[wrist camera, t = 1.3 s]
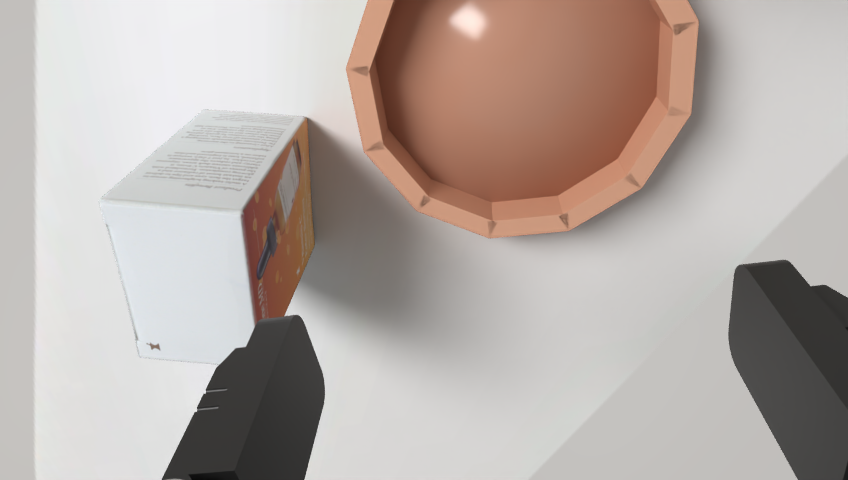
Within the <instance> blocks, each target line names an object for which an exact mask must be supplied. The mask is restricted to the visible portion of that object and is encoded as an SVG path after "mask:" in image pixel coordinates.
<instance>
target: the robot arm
mask: <svg viewBox="0 0 848 480" xmlns="http://www.w3.org/2000/svg"><path fill="white" fill-rule="evenodd" d="M729 345H730V350H731V355H732V358H733V361H734V364H735V366H736V368H737V370H738V372H739V373H740V375H741V377H742V379H743V381H744V383H745V384H746V386H747V388H748V390H749V392H750V393H751V395H752V397H753V399H754V401H755V403H756V404H757V406H758V408H759V410H760V411H761V413H762V415H763V417H764V419H765V421H766V423H767V424H768V426H769V428H770V430H771V432H772V433H773V435H774V437H775V439H776V441H777V442H778V444H779V446H780V448H781V450H782V452H783V453H784V455H785V457H786V459H787V461H788V462H789V464H790V466H791V468H792V470H793V471H794V473H795V475H796V477H797V479H798V480H848V298H847V297H846V296H843V295H842V294H840V293H838V292H837V291H835V290H833V289H831V288H830V287H828V286H826V285H820V286H810V285H809V284H808V283H807V282H806V280H805V279H804V278H803V277H802V276H801V274H800V273H799V272H798V271H797V270H796V269H795V267H794V266H793V265H792V264H791V263H790V262H789V261H787V260H778V261H769V262H760V263H752V264H743V265H739V266H737V268H736V270H735V273H734V281H733V291H732V301H731V312H730V322H729ZM324 398H325V385H324V378H323V373H322V370H321V368H320V365H319V362H318V359H317V357H316V354H315V351H314V348H313V346H312V343H311V340H310V338H309V335H308V332H307V329H306V327H305V324H304V322H303V320H302V318H301V317H300V316H299V315H292V316H284V317H275V318H266V319H260V320H259V321H258V322H257V324H256V325H255V328H254V330H253V332H252V334H251V337H250V339H249V341H248V343H247V345H246V347H240V348H235V349H234V350H233V351H232V352H231V353H230V354H229V356H228V357H227V358H226V359H225V360H224V361H223V362H222V363H221V364H220V365H219V366H218V367H217V368H216V370H215V372H214V374H213V376H212V378H211V380H210V382H209V384H208V386H207V388H206V394H203V396H202V398H201V400H200V403H199V405H198V407H197V412H195V413H194V415H193V417H192V419H191V421H190V423H189V425H188V427H187V429H186V431H185V433H184V435H183V437H182V439H181V441H180V443H179V445H178V447H177V449H176V451H175V453H174V455H173V457H172V460H171V462H170V464H169V466H168V468H167V470H166V472H165V474H164V476H163V478H162V480H304V479H305V475H306V471H307V467H308V463H309V459H310V455H311V451H312V448H313V444H314V440H315V436H316V432H317V428H318V424H319V420H320V417H321V413H322V409H323V405H324Z"/></svg>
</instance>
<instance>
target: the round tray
mask: <svg viewBox="0 0 848 480" xmlns="http://www.w3.org/2000/svg"><path fill="white" fill-rule="evenodd" d="M698 25H699V20H698V18H697V17H696V15H695V13H694V11H693V9H692V7H691V6H690V4H689V2H688V0H368V2H367V5H366V8H365V11H364V14H363V17H362V20H361V23H360V26H359V30H358V33H357V36H356V39H355V42H354V45H353V48H352V51H351V54H350V57H349V60H348V63H347V67H346V71H347V76H348V81H349V85H350V90H351V95H352V99H353V104H354V109H355V113H356V118H357V122H358V127H359V132H360V136H361V141H362V146H363V150H364V153H365V154H366V155H367V156H368V157H369V158H370V159H371V160H372V162H373V163H374V164H375V165H376V166H377V167H378V168H379V169H380V171H381V172H382V173H383V174H384V175H385V176H386V177H387V178H388V180H389V181H390V182H391V183H392V184H393V185H394V186H395V187H396V189H397V190H398V191H399V192H400V193H401V194H402V195H403V196H404V198H405V199H406V200H407V201H408V202H409V203H410V204H411V205H412V207H413V208H414V209H415V210H416V211H418V212H420V213H423V214H426V215H428V216H431V217H434V218H436V219H439V220H442V221H444V222H447V223H450V224H452V225H455V226H458V227H460V228H463V229H466V230H468V231H471V232H474V233H476V234H479V235H482V236H484V237H487V238H498V237H509V236H520V235H530V234H541V233H552V232H563V231H570V230H571V229H573V228H575V227H576V226H578V225H580V224H582V223H583V222H585V221H587V220H588V219H590V218H592V217H594V216H595V215H597V214H599V213H600V212H602V211H604V210H605V209H607V208H609V207H611V206H612V205H614V204H616V203H617V202H619V201H621V200H623V199H624V198H626V197H628V196H629V195H631V194H633V193H634V192H636V191H638V190H640V189H641V188H642V187H643V186H644V184H645V183H646V181H647V180H648V178H649V177H650V175H651V174H652V172H653V171H654V169H655V168H656V166H657V165H658V163H659V162H660V160H661V159H662V157H663V156H664V154H665V153H666V151H667V150H668V148H669V147H670V145H671V144H672V142H673V141H674V139H675V138H676V136H677V135H678V133H679V132H680V130H681V129H682V127H683V126H684V124H685V123H686V121H687V120H688V118H689V117H690V115H691V111H692V98H693V86H694V74H695V62H696V50H697V38H698Z"/></svg>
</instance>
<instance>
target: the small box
mask: <svg viewBox="0 0 848 480" xmlns="http://www.w3.org/2000/svg"><path fill="white" fill-rule="evenodd" d="M98 203H99V206H100V209H101V212H102V216H103V219H104V222H105V225H106V227H107V231H108V234H109V238H110V241H111V245H112V249H113V252H114V256H115V259H116V263H117V267H118V270H119V275H120V278H121V282H122V286H123V290H124V293H125V297H126V301H127V305H128V309H129V313H130V317H131V321H132V325H133V330H134V334H135V341H136V346H137V351H138V356H139V357H140V358H149V359H159V360H170V361H181V362H194V363H205V364H217V365H220V364H221V363H222V362H223V361H224V360H225V359H226V358H227V357H228V356H229V354H230V353H231V352H232V351H233V350H234V349H235V348H240V347H246V345H247V343H248V341H249V339H250V337H251V334H252V332H253V330H254V328H255V325H256V324H257V322H258V321H259V320H260V319H266V318H275V317H284V315H285V313H286V311H287V308H288V306H289V304H290V302H291V299H292V297H293V294H294V292H295V290H296V287H297V285H298V283H299V281H300V279H301V276H302V274H303V271H304V269H305V267H306V265H307V262H308V260H309V258H310V255H311V253H312V250H313V248H314V246H315V240H314V230H313V220H312V205H311V183H310V162H309V143H308V122H307V118H306V117H304V116H292V115H278V114H266V113H252V112H238V111H223V110H209V109H205V110H202V111H201V112H200V113H199V114H198V115H197V116H195V117H194V118H193V119H192V120H191V121H190V122H189V123H187V124H186V125H185V126H184V127H183V128H182V129H180V130H179V131H178V132H177V133H176V134H174V135H173V136H172V137H171V138H170V139H169V140H167V141H166V142H165V143H164V144H163V145H161V146H160V147H159V148H158V149H157V150H156V151H154V152H153V153H152V154H151V155H150V156H149V157H148V158H146V159H145V160H144V161H143V162H142V163H141V164H139V165H138V166H137V167H136V168H135V169H134V170H133V171H131V172H130V173H129V174H128V175H127V176H126V177H124V178H123V179H122V180H121V181H120V182H119V183H118V184H116V185H115V186H114V187H113V188H112V189H111V190H110V191H108V192H107V193H106V194H105V195H104V196H102V197H101V198H100V199H99V201H98Z"/></svg>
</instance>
